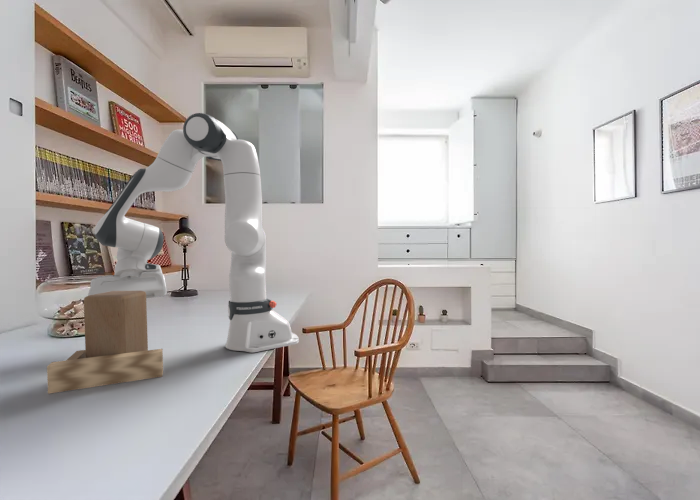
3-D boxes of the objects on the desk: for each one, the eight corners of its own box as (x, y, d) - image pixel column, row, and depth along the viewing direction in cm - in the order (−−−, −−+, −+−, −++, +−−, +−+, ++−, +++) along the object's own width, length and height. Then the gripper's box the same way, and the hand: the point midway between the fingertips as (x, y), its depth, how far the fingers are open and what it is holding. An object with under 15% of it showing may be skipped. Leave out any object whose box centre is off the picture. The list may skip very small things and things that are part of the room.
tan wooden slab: (165, 362, 96) (165, 340, 95) (162, 376, 86) (161, 352, 85) (65, 376, 87) (64, 352, 87) (48, 393, 77) (46, 366, 77)
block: (124, 378, 85) (121, 295, 84) (84, 378, 85) (81, 296, 85) (150, 364, 95) (147, 290, 94) (114, 364, 95) (111, 290, 95)
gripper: (89, 270, 106) (81, 307, 97) (165, 264, 114) (165, 298, 105) (94, 283, 110) (87, 320, 101) (167, 277, 118) (167, 311, 110)
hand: (127, 309), depth 103 cm, fingers closed
